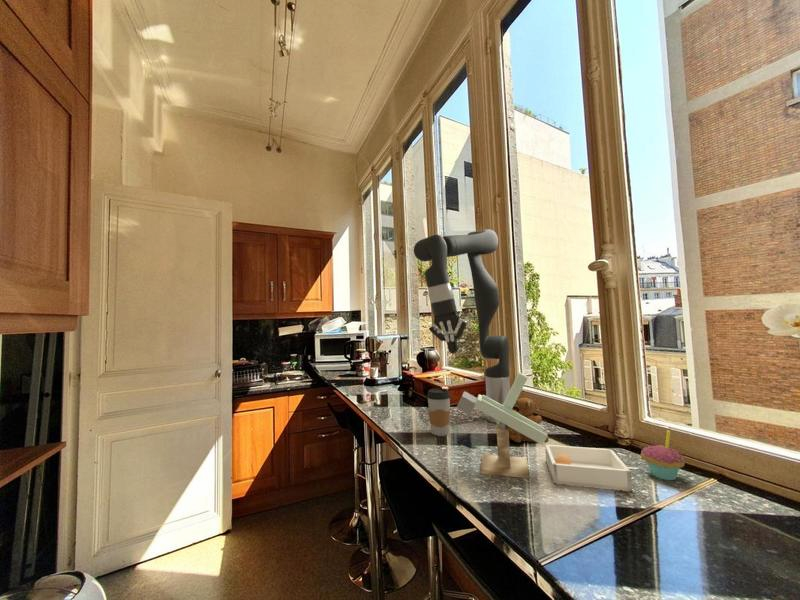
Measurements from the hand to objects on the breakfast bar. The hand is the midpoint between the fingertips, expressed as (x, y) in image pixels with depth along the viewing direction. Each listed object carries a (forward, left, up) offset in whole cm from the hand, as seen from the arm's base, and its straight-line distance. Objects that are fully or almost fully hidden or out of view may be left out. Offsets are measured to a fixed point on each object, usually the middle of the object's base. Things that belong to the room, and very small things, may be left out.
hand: (454, 352), depth 103 cm
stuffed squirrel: (-22, +10, -30) cm, 39 cm away
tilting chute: (+1, +14, -19) cm, 24 cm away
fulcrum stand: (+1, +16, -30) cm, 34 cm away
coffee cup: (-8, -14, -30) cm, 34 cm away
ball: (-6, +29, -27) cm, 40 cm away
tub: (-9, +33, -30) cm, 45 cm away
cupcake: (-21, +47, -30) cm, 60 cm away
